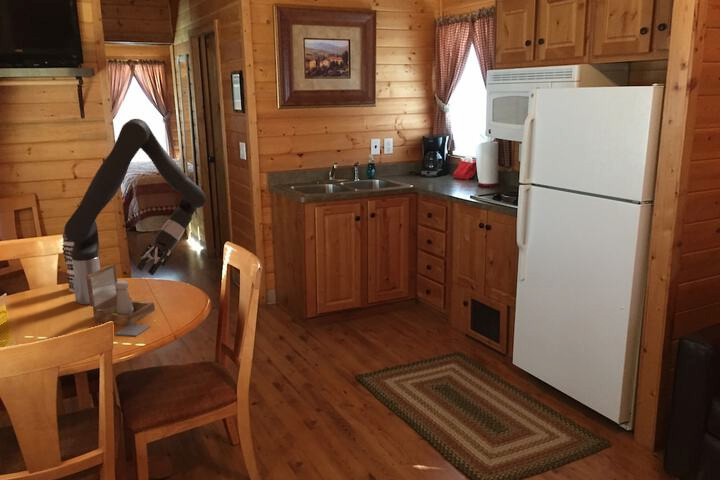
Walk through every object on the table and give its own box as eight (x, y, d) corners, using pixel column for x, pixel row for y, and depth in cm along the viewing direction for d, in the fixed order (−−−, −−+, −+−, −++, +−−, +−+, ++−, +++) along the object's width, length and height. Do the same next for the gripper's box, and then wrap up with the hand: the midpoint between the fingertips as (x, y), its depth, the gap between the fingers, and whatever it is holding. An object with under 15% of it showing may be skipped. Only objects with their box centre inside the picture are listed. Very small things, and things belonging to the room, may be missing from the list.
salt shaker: (119, 313, 219) (115, 279, 216) (136, 312, 219) (131, 278, 216) (114, 319, 213) (110, 284, 210) (131, 318, 214) (127, 283, 210)
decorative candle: (95, 289, 246) (86, 229, 240) (70, 293, 241) (61, 232, 235) (90, 283, 254) (82, 225, 247) (66, 287, 249) (57, 228, 242)
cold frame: (92, 322, 211) (86, 276, 207) (118, 307, 225) (112, 263, 221) (131, 325, 208) (125, 278, 203) (155, 310, 221) (150, 265, 217)
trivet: (114, 334, 200) (114, 333, 200) (129, 325, 208) (129, 324, 208) (136, 336, 198) (136, 335, 198) (150, 327, 206) (149, 325, 206)
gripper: (152, 226, 226) (127, 262, 221) (172, 232, 217) (146, 270, 211) (167, 237, 231) (142, 273, 226) (187, 243, 222) (161, 280, 217)
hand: (144, 271), depth 219 cm, fingers open, 8 cm apart
